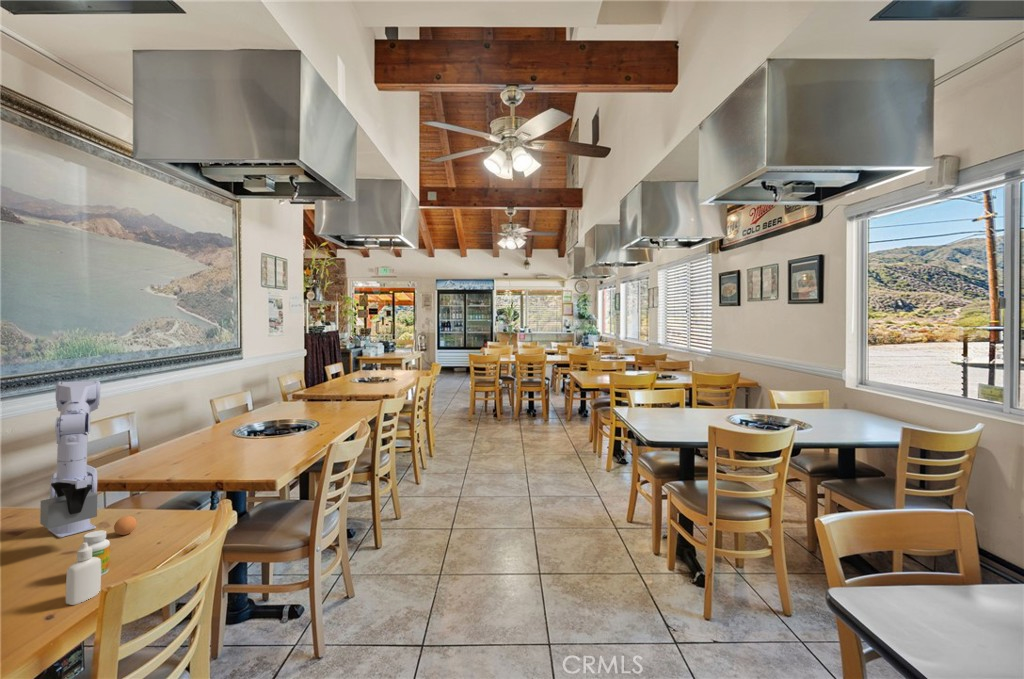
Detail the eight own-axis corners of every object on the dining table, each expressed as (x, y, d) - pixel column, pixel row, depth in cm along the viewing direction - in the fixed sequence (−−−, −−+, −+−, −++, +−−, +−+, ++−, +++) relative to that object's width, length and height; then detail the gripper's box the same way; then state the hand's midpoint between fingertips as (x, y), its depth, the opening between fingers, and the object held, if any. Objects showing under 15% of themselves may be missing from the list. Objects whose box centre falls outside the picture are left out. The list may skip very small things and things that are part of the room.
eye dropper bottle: (64, 599, 97) (66, 544, 98) (99, 589, 102) (101, 536, 102) (66, 608, 95) (67, 550, 95) (102, 597, 99) (103, 542, 99)
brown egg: (137, 520, 134) (120, 535, 131) (123, 511, 132) (106, 526, 128) (144, 524, 132) (127, 540, 128) (130, 514, 129) (113, 530, 126)
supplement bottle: (90, 581, 105) (91, 539, 105) (72, 578, 106) (73, 537, 106) (115, 570, 110) (116, 530, 110) (97, 567, 111) (98, 527, 111)
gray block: (40, 523, 117) (40, 500, 117) (88, 511, 125) (88, 490, 125) (48, 529, 114) (48, 505, 114) (97, 516, 122) (97, 494, 122)
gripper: (42, 458, 120) (40, 509, 120) (61, 467, 113) (59, 521, 113) (77, 452, 126) (76, 501, 126) (97, 460, 119) (96, 512, 119)
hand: (70, 510), depth 120 cm, fingers closed on gray block, 6 cm apart
